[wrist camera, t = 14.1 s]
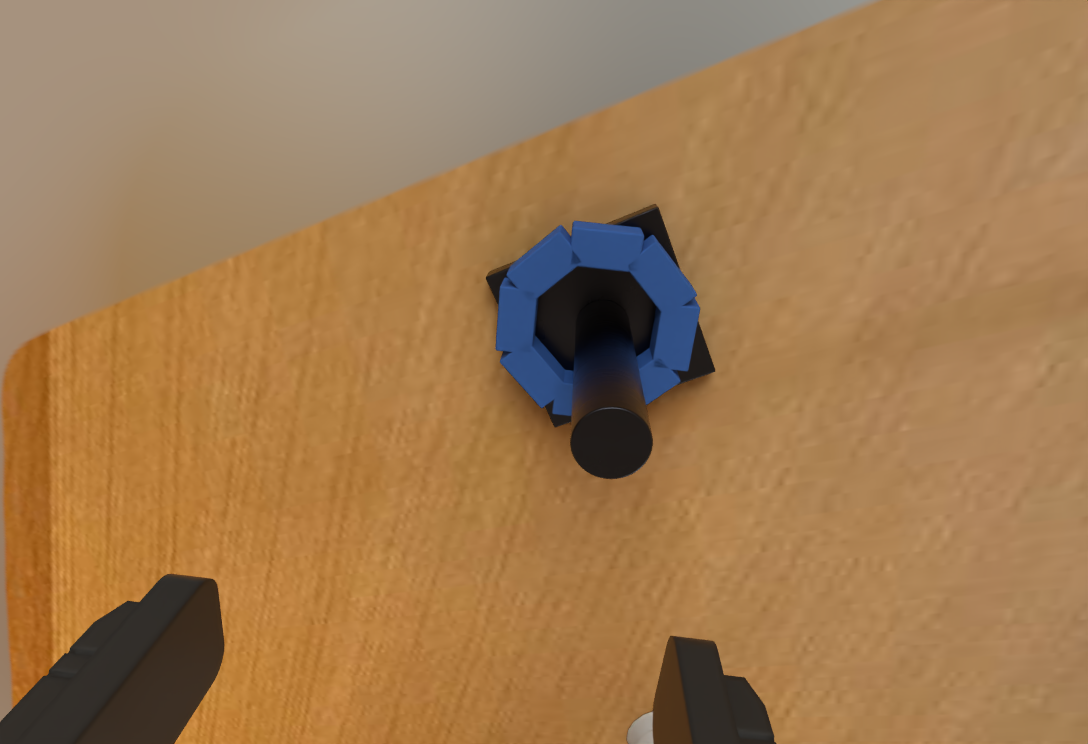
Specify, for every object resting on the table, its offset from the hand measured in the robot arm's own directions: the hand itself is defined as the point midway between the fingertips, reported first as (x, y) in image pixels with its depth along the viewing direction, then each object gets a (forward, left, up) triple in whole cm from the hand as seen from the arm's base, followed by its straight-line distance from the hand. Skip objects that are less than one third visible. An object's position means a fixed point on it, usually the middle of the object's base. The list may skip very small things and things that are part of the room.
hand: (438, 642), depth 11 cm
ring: (+1, +3, -19) cm, 19 cm away
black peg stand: (+2, +3, -20) cm, 20 cm away
